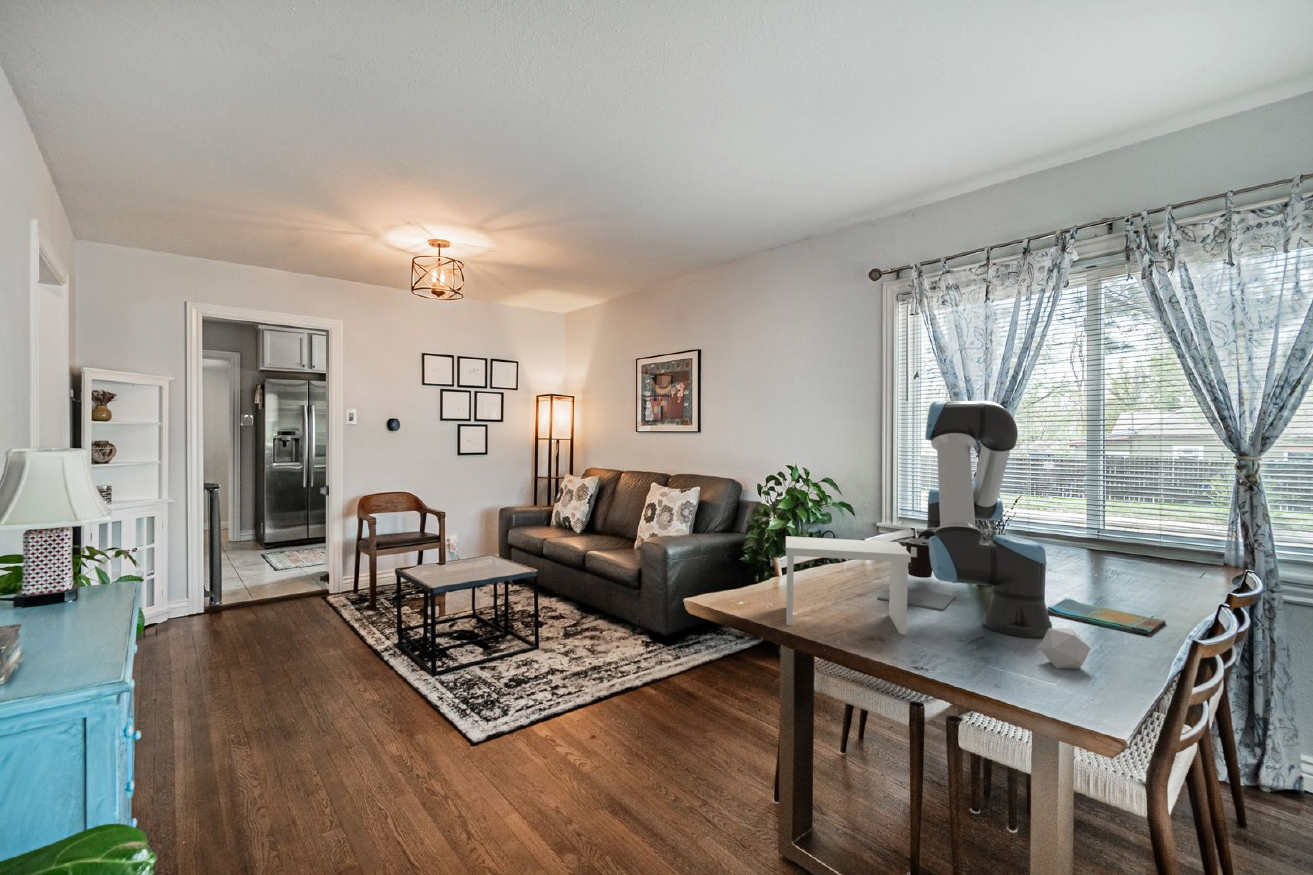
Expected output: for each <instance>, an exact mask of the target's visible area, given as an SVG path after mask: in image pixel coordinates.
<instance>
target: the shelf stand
mask: <svg viewBox="0 0 1313 875" xmlns="http://www.w3.org/2000/svg"><path fill="white" fill-rule="evenodd" d="M785 556H786V596H785V597H786V600H785V602H786V603H785V614H786V615H785V616H786V621H785V622H786V624H785V625H786V626H793V622H794V621H793V620H794V619H793V618H794V617H793V616H794V615H793V614H794V570H795V569H794V568H795V562H794V561H795V557H806V558H822V559H823V558H826V559H839V560H840V559H842V560H844V559H845V560H860V561H873V562H877V561H878V562H889V589H890V591H889V601H888V602H889V604H888V606H889V607H888V616H889V617H890V619H891V621H892V623H893V624H894V626H895V629H896V630H897V631H898V633H899V634H900V635H905V636H906V635H907V631H908V630H907V629H908V628H907V624H908V622H907V621H908V605H907V588H909V587H908V583H909V582H908V581H909V578H908V577H909V574H908V563H911V554H910V553H909V552H908V551H907V550H906V547H904V546H902V544H901V543H900V542H899V541H883V540H865V539H864V540H862V539H847V538H845V539H843V538H827V537H824V538H823V537H810V536H809V537H807V536H805V537H803V536H787V535H786V536H785Z"/></svg>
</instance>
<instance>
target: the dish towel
mask: <svg viewBox="0 0 1313 875" xmlns="http://www.w3.org/2000/svg"><path fill="white" fill-rule="evenodd" d="M1046 608H1047V612H1048V615H1049V616H1052V617H1055V618H1056V617H1057V618H1061V619H1067V620H1072V621H1078V622H1082V623H1087V624H1091V625H1096V626H1099V625H1100V626H1099V627H1103V628H1104V627H1105V628H1109V629H1114V630H1117V631H1123V632H1127V633H1132V634H1134V635H1135V634H1136V635H1141V636H1145V637H1150V636H1152V635H1153V634H1155V633H1156V632H1157V631H1159V630H1161V629H1162V628H1163V627H1164V626H1165V625H1167V624H1166V620H1164V619H1160V618H1159V619H1158V618H1152V617H1149V616H1144V615H1139V614H1136V613H1132V612H1131V613H1130V612H1124V611H1120V610H1118V609H1112V608H1107V607H1101V606H1095V605H1091V604H1087V603H1083V602H1079V601H1076V600H1074V599H1072V598H1064V599H1063V600H1060V601H1059V602H1058V603H1056V604H1054V605H1052V606H1048V607H1046Z"/></svg>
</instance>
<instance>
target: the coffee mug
mask: <svg viewBox="0 0 1313 875" xmlns="http://www.w3.org/2000/svg"><path fill="white" fill-rule="evenodd" d="M922 542H924V543H927V544H928V545H922ZM914 543H919V544H914ZM911 547H915V548H917V557H911V563H908V576H911V577H915V578H920V579H921V578H922V579H927V578H928V579H929V578H931V577H932V575H933V571H932V567H931V562H930V556H929V540H923V539H915V538H913V539H907V540H906V539H905V549H906V550H907V551H908V552H909V553H910V554H911Z"/></svg>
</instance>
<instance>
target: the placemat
mask: <svg viewBox="0 0 1313 875" xmlns="http://www.w3.org/2000/svg"><path fill="white" fill-rule="evenodd" d="M889 591H890V588H889V589H888V590H886V591H884V592H883V593H882V594H880V595H879V596H877V600H880V601H886V602H889ZM956 598H957V595H956V594H949V593H943V592H939V591H931V590H926V589H919V588H915V587H914V588H913V587H908V588H907V606H914V607H919V608H924V609H931V610H936V611H941V612H943V611H945V610H946V609H947V607H949V605H950V604H951V603H952V602H953V601H954V600H955V599H956Z"/></svg>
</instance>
